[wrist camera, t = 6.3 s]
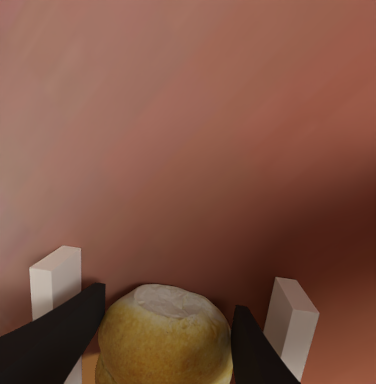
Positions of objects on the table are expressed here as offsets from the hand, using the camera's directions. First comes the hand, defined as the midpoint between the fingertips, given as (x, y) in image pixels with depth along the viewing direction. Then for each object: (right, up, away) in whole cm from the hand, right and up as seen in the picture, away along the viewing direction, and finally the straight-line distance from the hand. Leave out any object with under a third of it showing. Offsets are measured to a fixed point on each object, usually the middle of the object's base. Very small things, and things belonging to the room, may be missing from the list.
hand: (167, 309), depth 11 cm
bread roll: (0, -3, +2) cm, 4 cm away
